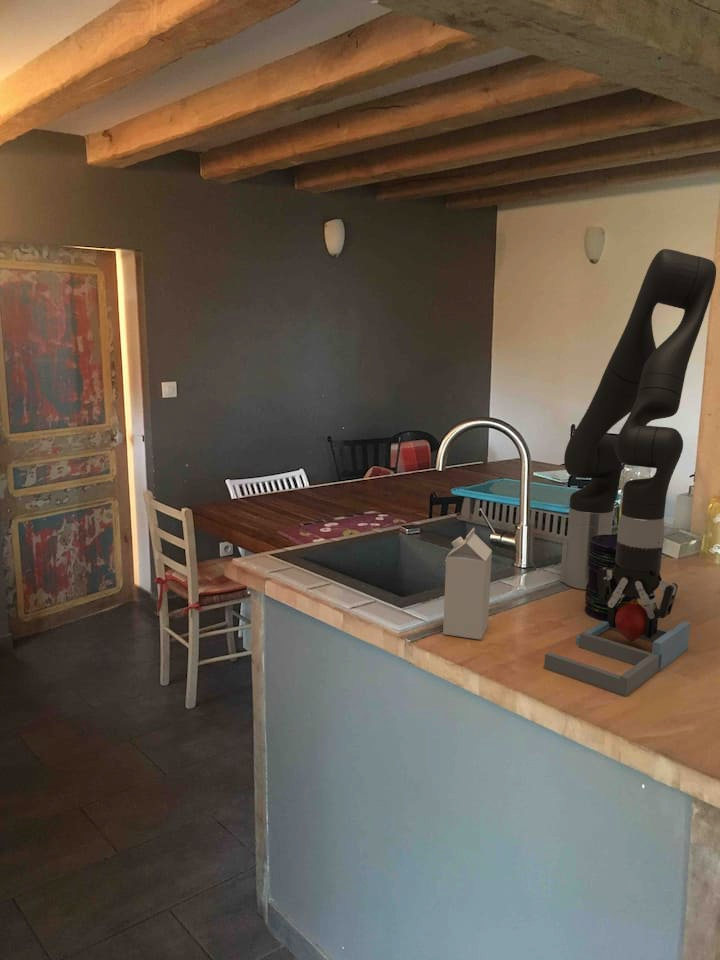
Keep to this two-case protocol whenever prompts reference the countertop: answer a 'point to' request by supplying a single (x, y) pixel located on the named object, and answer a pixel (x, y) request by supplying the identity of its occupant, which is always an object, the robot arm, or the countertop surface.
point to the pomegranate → (631, 620)
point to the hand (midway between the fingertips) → (631, 631)
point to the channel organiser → (622, 657)
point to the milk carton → (467, 588)
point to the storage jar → (599, 557)
